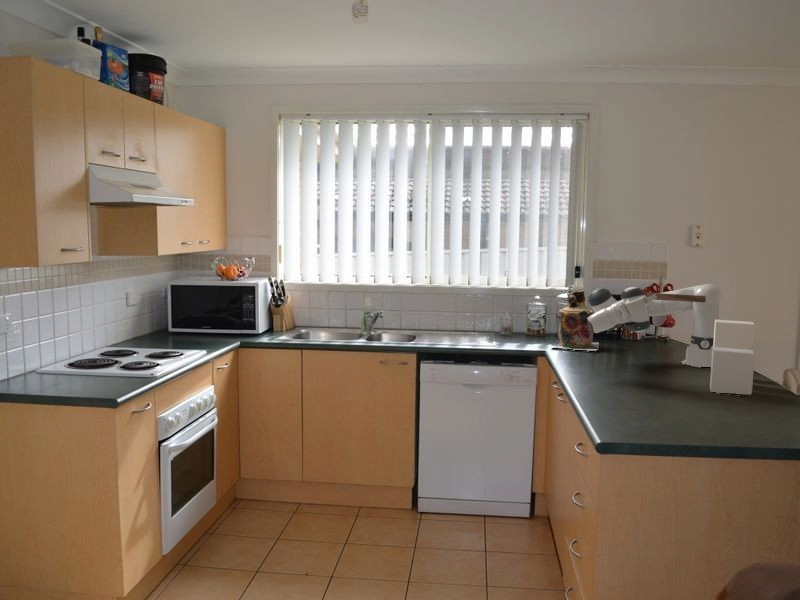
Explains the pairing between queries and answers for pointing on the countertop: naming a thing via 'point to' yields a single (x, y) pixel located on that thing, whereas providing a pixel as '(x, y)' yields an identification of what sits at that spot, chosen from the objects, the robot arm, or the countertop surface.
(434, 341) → the countertop surface
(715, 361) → the low stand
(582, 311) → the cookie jar
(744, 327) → the tall stand
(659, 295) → the bar
